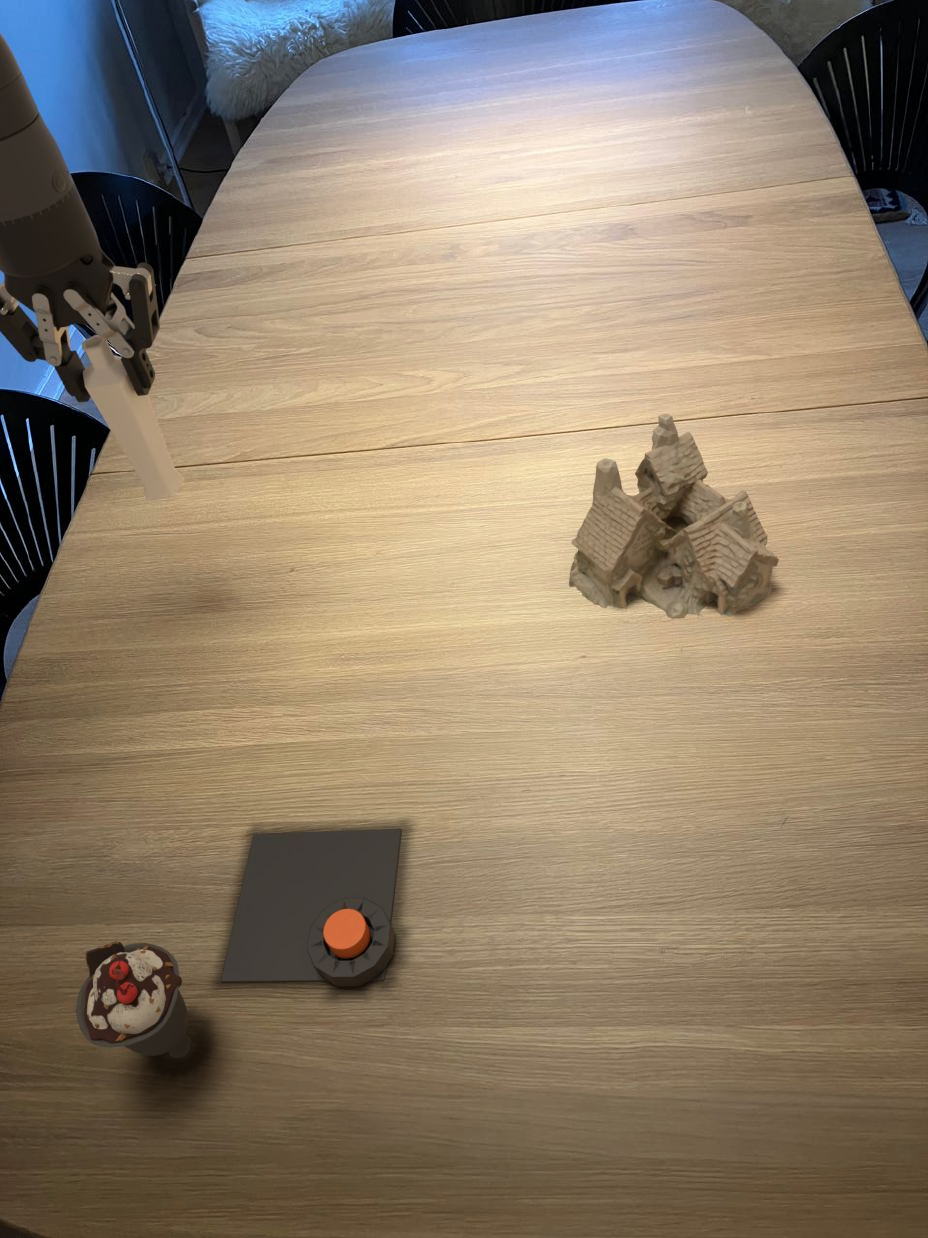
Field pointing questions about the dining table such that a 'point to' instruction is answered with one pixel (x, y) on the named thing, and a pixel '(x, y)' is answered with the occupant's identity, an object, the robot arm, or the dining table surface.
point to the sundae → (134, 1000)
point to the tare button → (346, 933)
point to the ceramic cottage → (670, 536)
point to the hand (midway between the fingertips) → (115, 392)
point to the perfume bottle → (130, 420)
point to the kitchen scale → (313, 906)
